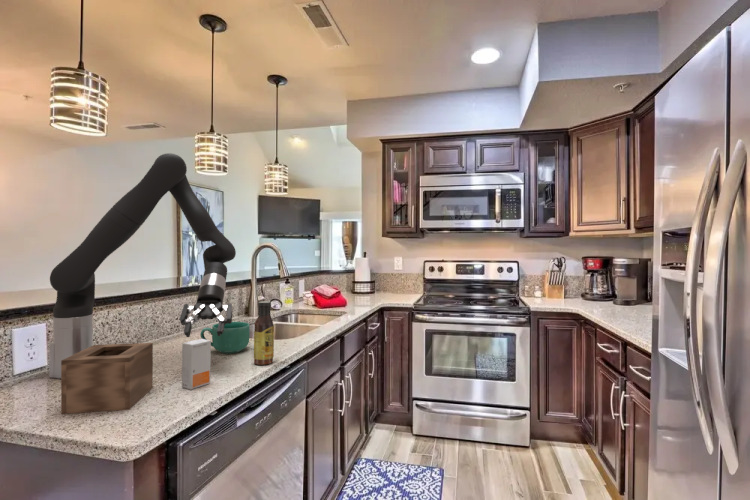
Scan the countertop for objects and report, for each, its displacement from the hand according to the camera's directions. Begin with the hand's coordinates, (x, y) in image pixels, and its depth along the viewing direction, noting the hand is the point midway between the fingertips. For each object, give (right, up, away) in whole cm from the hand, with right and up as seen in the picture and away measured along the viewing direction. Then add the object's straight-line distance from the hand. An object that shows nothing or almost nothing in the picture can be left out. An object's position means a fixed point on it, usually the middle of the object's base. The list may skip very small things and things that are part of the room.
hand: (203, 335), depth 112 cm
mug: (-4, -12, +28) cm, 31 cm away
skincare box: (+1, -12, -7) cm, 14 cm away
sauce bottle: (+14, -12, +14) cm, 23 cm away
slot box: (-15, -12, -17) cm, 26 cm away
